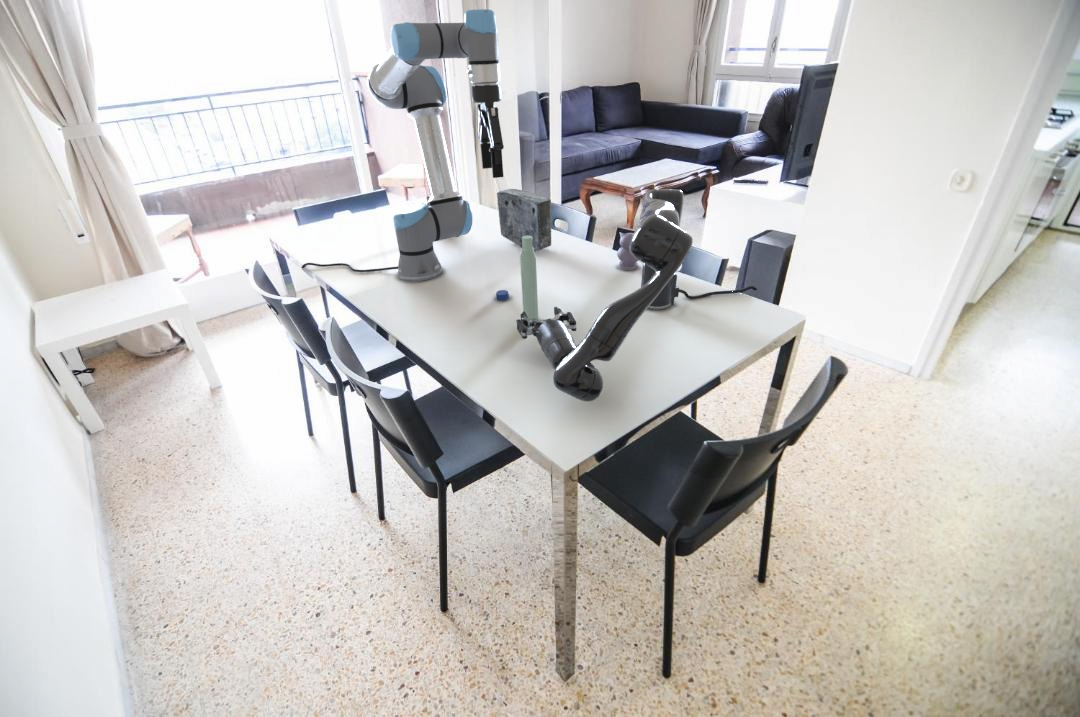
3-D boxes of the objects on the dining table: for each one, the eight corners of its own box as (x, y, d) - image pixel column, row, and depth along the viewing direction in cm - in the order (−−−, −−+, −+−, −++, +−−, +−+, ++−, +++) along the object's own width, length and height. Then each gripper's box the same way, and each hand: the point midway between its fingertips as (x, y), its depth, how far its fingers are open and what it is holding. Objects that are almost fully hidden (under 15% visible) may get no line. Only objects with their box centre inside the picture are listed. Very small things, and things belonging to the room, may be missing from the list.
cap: (505, 294, 158) (505, 288, 157) (511, 299, 155) (510, 293, 154) (494, 297, 157) (494, 291, 156) (499, 302, 154) (499, 296, 153)
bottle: (534, 326, 139) (530, 240, 126) (521, 323, 141) (516, 238, 128) (541, 320, 142) (537, 235, 129) (527, 317, 144) (523, 233, 131)
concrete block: (556, 252, 190) (555, 199, 179) (537, 257, 186) (535, 203, 175) (517, 236, 209) (515, 187, 198) (500, 240, 204) (496, 190, 194)
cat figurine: (645, 266, 174) (647, 232, 168) (632, 273, 170) (634, 238, 163) (624, 261, 180) (626, 228, 173) (611, 267, 175) (613, 233, 168)
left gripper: (462, 83, 134) (470, 165, 146) (480, 87, 114) (488, 182, 125) (489, 81, 136) (495, 163, 147) (512, 85, 116) (517, 180, 127)
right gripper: (585, 323, 115) (565, 295, 128) (525, 332, 112) (511, 303, 126) (585, 351, 119) (565, 321, 132) (527, 360, 116) (513, 329, 130)
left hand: (492, 172), depth 136 cm, fingers open, 13 cm apart
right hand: (539, 312), depth 129 cm, fingers open, 8 cm apart
